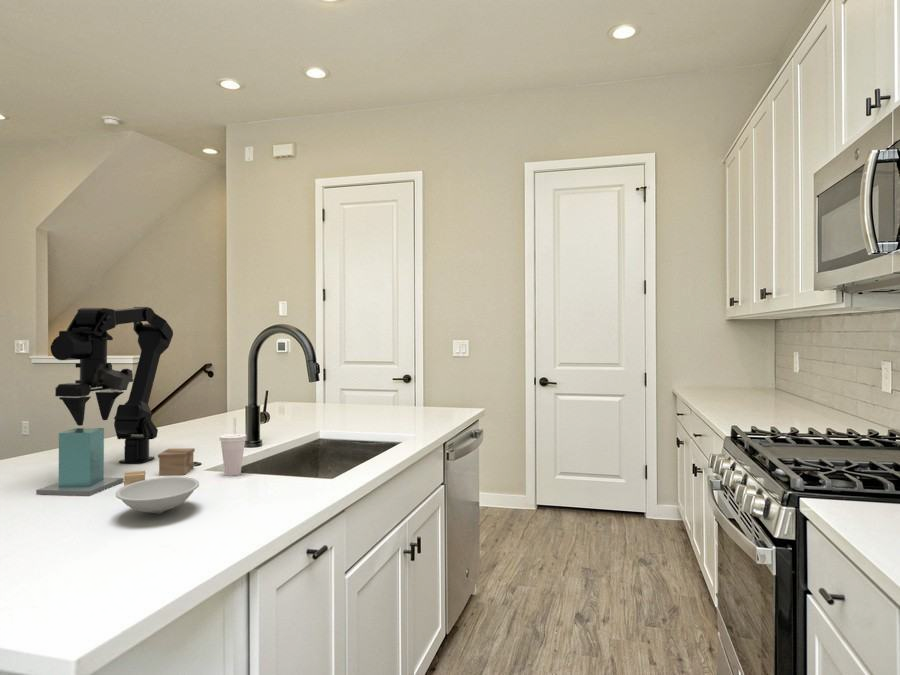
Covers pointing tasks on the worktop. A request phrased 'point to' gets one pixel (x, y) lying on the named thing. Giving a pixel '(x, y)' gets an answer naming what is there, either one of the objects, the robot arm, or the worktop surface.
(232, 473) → the smoothie
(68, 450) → the tall teal box
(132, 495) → the dish
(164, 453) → the walnut box
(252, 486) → the worktop surface
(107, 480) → the plate
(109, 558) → the worktop surface
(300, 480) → the worktop surface
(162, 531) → the worktop surface
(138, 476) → the block
